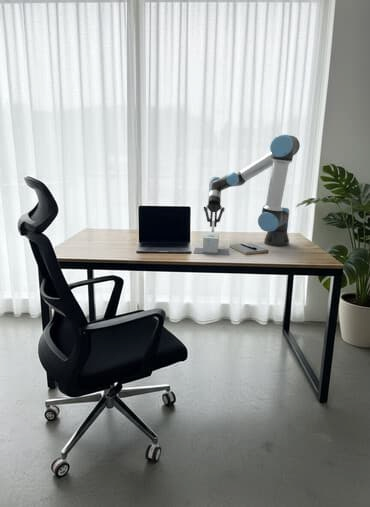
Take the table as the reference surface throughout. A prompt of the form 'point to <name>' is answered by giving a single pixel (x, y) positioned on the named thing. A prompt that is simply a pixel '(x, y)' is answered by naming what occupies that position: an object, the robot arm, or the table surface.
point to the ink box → (210, 243)
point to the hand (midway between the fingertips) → (212, 231)
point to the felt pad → (220, 252)
